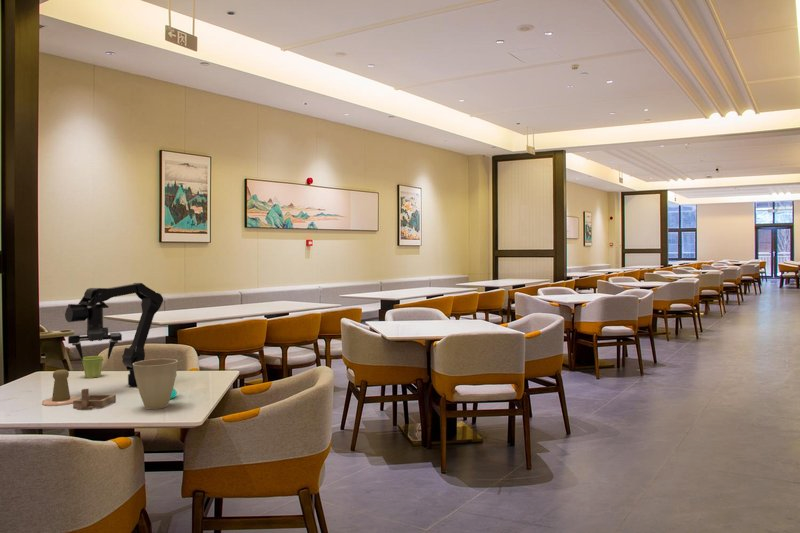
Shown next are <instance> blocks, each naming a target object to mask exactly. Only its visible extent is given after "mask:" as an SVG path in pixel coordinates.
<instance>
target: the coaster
mask: <svg viewBox="0 0 800 533" xmlns="http://www.w3.org/2000/svg"><path fill="white" fill-rule="evenodd" d="M79 398H80V397H78V396H72V395H70V400H67V401H60V402H54V401H52V397H50V398H46V399H43V400H42V401H41V405H43V406H48V407H53V406H54V407H58V405H60V406H65V405H66V404H67V405H73V401H75V400H77V399H79ZM67 405H66V406H67Z"/></svg>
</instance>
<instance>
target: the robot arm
mask: <svg viewBox="0 0 800 533" xmlns="http://www.w3.org/2000/svg"><path fill="white" fill-rule="evenodd" d="M131 294H135V295H136V297H137V298H138V299H140V300H141V304H140V306H141V311H142V312H141V315H140V319H139V322H138V324H137V328H136V332H135V334H134V338H133V340H132V343H131V345H130V346H129V347H125V348H124V349H123V355H122V356H121V358H122V363H123V365H124V366H125V368H126V370H127V371H129V373H128V374H127V385H128V386H129V388H135V387H137V383H136V379H135V375H134V369H133V363H135V362H139V361H144V360H146V359H145V357H146V352H145V345H146V342H147V339H148V336H149V332H150V330H151V326H152V322H153V320H154V317H155V314H156V313H157V312H158V311H159V310H160V309H161V306H162V305H163V303H164V297H163V295H162V294H161V293H159V292H156V291H154V290H153V289H151V288H149V286H147V285H146V284H144V283H142V282H134V283H131V284H124V285H119V286H113V287H108V288H107V287H89V288H87V289H86V290H85V292H84V295H83V296H82V298H81V299H80V300H79V302H78V303H77V304H76V303H69V304H68V305H67V308H66V310H65V313H64V317H65V320H66V321H67V322H68V323H76V322H84V321H86V335H83V336H80V333H79V334H70V335H68V336H67V337H68V338H67V339H68V342H67V343H68V345H69V344H71V346H75V348H76V350H77V352H78V354H79V357H80V360H81V362H82V361H83V357H84V356H83V349H82V343H81V342H84V341H85V342H86V341H87V342H88V341H89V342H95V341H99V342H101V341H105V340H109V341H108V349H107V359H108V360H110V357H111V354H112V351H113V348H114V347H115V345H116V344H118V343H119V341H122V339H123V337H122V336H123V335H122V333H121V332H119V331H118V332H117V331H116V332H110V333H109V327H107V326H106V327H104V309H108V308H109V305H107V303H105V302H106V301H108V300H110V299H112V298H116V297H122V296H126V295H131Z"/></svg>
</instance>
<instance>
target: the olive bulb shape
mask: <svg viewBox="0 0 800 533" xmlns="http://www.w3.org/2000/svg"><path fill="white" fill-rule="evenodd" d="M69 376H70V373H69V370H67V369H57V370H54V371H53V373H52V378H53V379H54V381H53V382H54V383H53V388H52V397H51V398H52V401H54V402H60V401H67V400H70V396H71V394H70V389H69V388H70V387H69V382H68V379H69V378H68V377H69Z"/></svg>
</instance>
